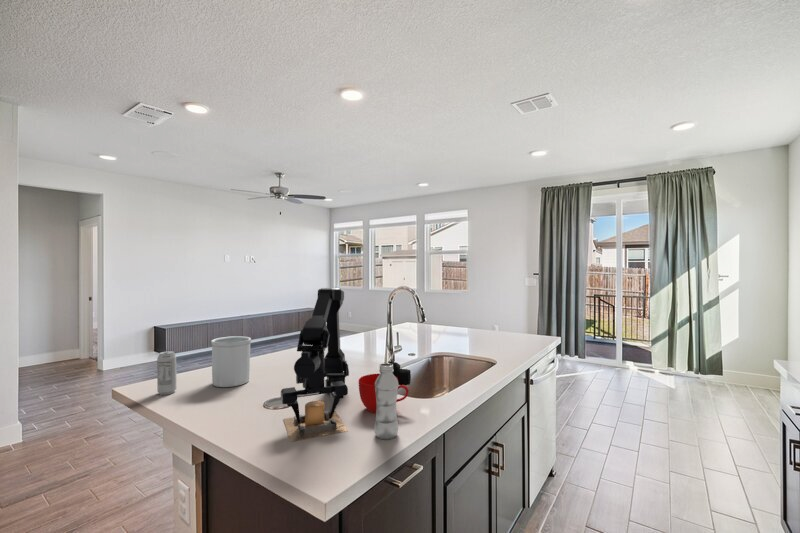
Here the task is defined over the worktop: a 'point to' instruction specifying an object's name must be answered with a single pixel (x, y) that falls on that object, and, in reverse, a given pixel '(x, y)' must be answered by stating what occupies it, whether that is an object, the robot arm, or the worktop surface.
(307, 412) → the cap
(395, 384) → the plastic bottle
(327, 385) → the robot arm
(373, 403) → the ceramic cup
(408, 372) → the film camera
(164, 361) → the energy drink can
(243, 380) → the utensil holder
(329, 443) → the worktop surface
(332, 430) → the socket
